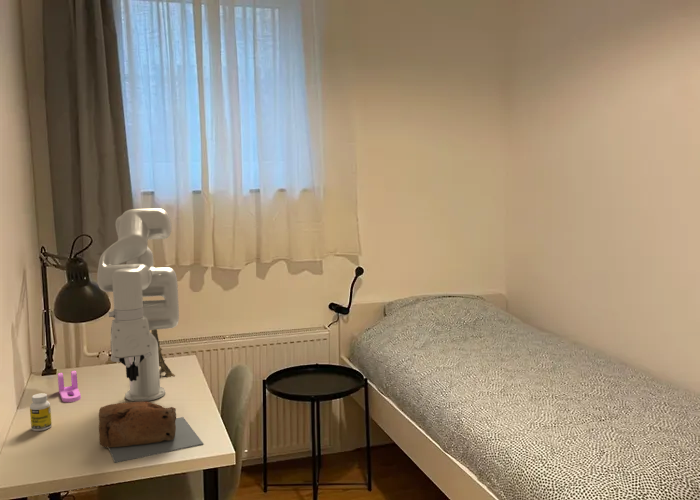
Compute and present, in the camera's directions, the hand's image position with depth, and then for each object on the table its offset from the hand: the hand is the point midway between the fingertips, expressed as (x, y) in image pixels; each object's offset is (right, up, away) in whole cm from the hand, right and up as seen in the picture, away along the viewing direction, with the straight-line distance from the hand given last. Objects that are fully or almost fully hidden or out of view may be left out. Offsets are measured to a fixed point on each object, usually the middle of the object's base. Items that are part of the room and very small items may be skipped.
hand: (132, 379), depth 184 cm
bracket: (-33, -13, +38) cm, 52 cm away
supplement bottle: (-30, -16, +11) cm, 36 cm away
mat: (+5, -17, +2) cm, 18 cm away
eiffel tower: (-11, -10, +59) cm, 61 cm away
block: (-8, -12, -4) cm, 15 cm away
